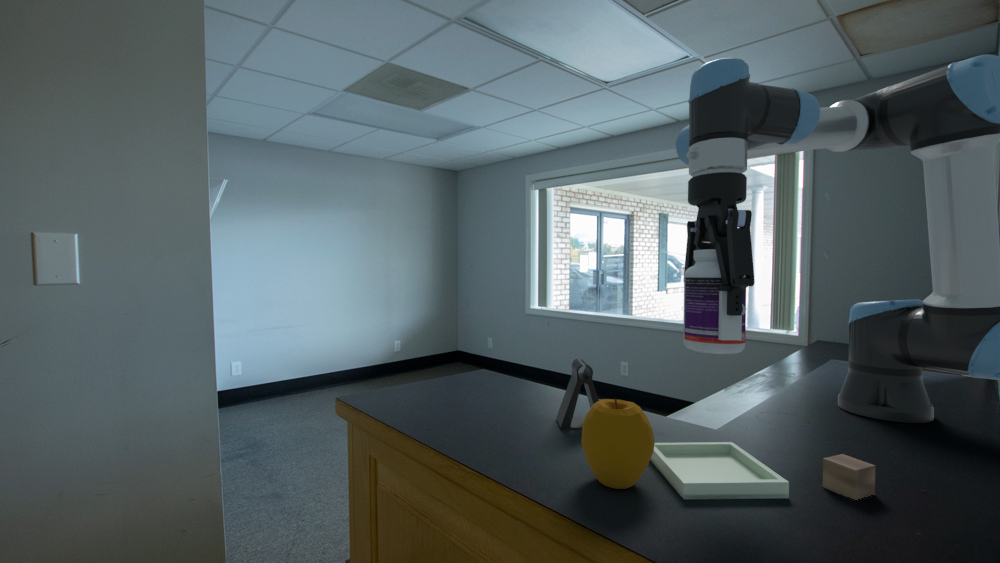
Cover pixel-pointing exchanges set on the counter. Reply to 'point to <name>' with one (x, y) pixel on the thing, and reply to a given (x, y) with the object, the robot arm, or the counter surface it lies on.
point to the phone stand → (576, 396)
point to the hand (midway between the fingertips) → (713, 335)
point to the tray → (716, 472)
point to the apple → (617, 442)
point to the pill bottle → (706, 307)
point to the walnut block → (849, 476)
